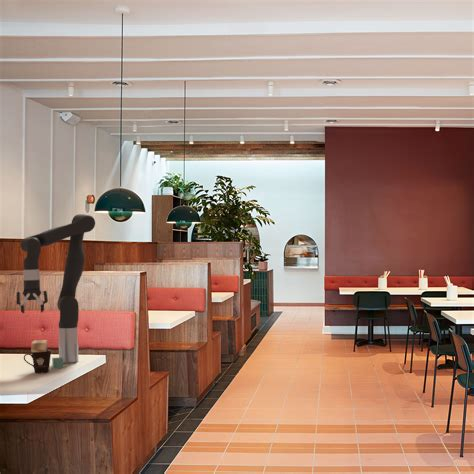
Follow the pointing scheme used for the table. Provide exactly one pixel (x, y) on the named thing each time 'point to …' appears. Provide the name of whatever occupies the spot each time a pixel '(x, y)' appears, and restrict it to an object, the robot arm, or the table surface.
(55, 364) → the green cube
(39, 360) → the coffee mug
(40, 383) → the table surface
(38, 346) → the oak block
